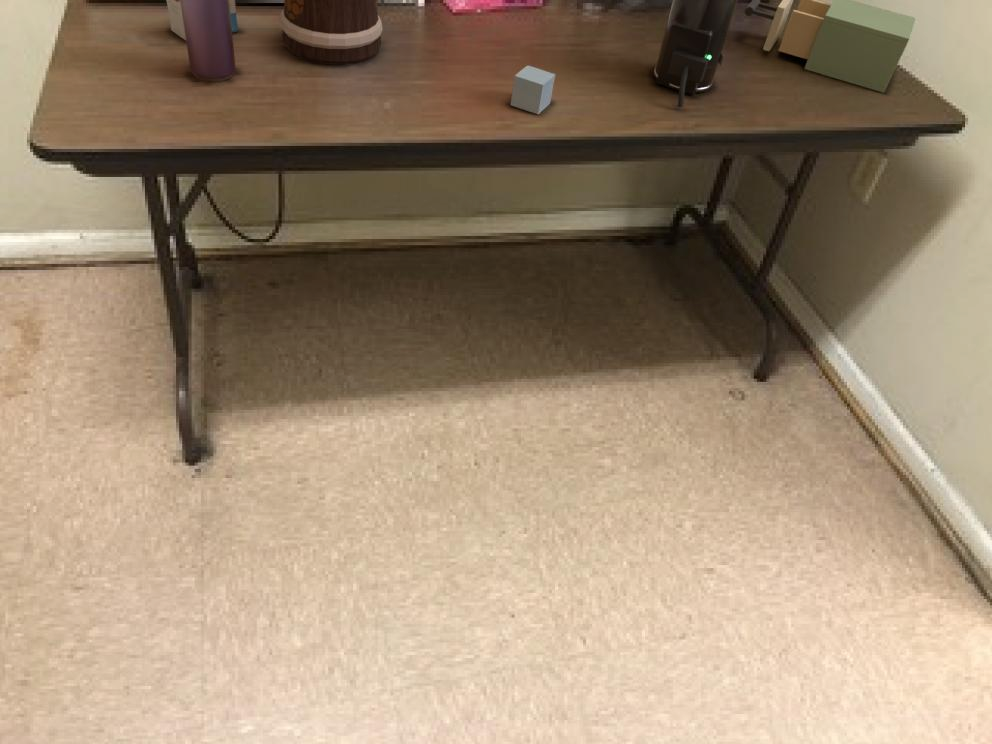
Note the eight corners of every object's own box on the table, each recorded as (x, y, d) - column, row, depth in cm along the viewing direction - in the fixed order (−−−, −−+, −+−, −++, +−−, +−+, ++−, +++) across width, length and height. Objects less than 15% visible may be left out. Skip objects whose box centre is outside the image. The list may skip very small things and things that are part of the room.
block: (538, 114, 116) (543, 84, 113) (510, 105, 117) (514, 75, 114) (550, 103, 119) (555, 74, 116) (523, 94, 120) (527, 65, 117)
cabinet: (804, 69, 140) (825, 15, 133) (815, 47, 148) (836, -5, 141) (883, 92, 136) (909, 38, 130) (891, 69, 144) (915, 17, 138)
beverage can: (224, 86, 110) (211, -31, 100) (182, 77, 111) (165, -40, 100) (243, 69, 115) (232, -45, 104) (203, 60, 115) (188, -54, 105)
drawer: (732, 40, 143) (746, -3, 138) (746, 23, 150) (760, -19, 145) (834, 70, 138) (852, 27, 133) (843, 51, 145) (860, 9, 140)
